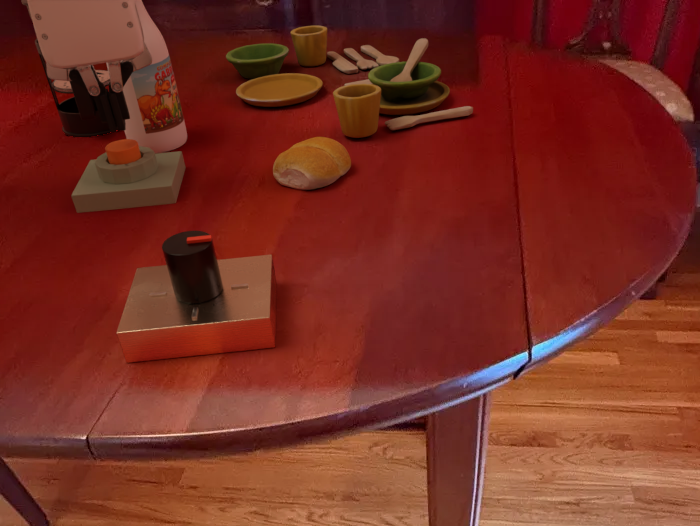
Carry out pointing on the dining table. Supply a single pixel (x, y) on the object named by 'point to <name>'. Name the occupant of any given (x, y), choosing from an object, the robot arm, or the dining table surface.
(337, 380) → the dining table surface
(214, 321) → the panel
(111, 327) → the dining table surface
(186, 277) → the hob knob
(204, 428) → the dining table surface
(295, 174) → the bread roll
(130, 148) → the button
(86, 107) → the french press
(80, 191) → the control box
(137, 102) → the milk bottle
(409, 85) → the tableware set
